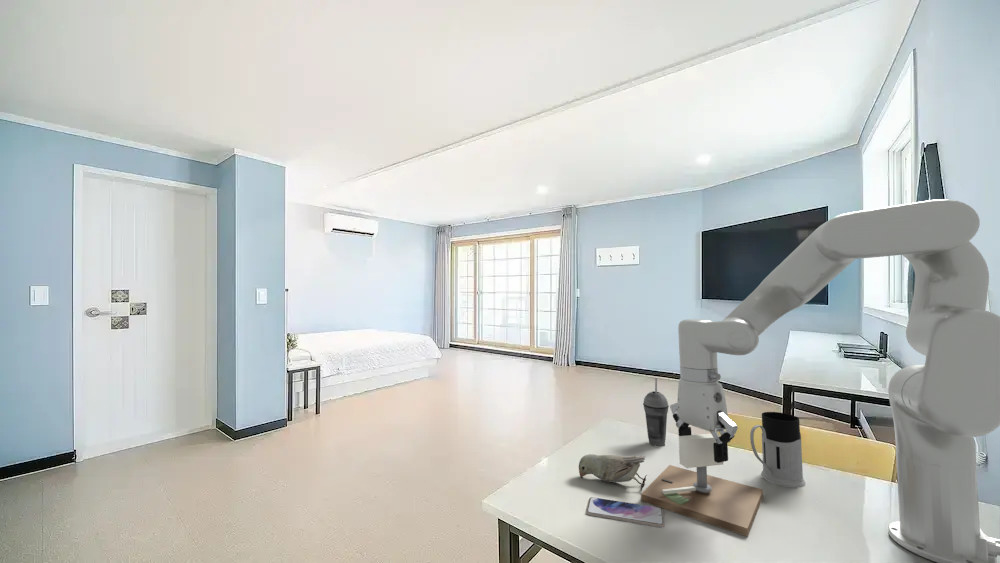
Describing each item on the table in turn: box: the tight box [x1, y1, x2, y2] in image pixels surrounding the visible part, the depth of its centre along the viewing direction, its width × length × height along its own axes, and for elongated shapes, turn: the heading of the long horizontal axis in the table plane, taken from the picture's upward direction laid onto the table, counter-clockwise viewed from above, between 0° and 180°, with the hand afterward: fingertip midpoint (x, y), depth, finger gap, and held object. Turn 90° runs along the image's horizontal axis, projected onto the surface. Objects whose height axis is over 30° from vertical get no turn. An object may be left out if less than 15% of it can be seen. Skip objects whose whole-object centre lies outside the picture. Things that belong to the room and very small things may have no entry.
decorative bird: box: [578, 453, 648, 492], centre depth 94 cm, size 5×16×8 cm, turn 65°
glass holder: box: [749, 411, 806, 489], centre depth 94 cm, size 9×14×15 cm, turn 109°
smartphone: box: [585, 496, 665, 528], centre depth 81 cm, size 7×1×15 cm
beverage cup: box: [642, 377, 670, 448], centre depth 119 cm, size 7×7×20 cm
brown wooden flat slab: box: [640, 464, 764, 537], centre depth 86 cm, size 20×19×2 cm
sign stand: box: [662, 433, 724, 494], centre depth 86 cm, size 14×4×12 cm, turn 100°
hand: (702, 452), depth 86 cm, fingers open, 9 cm apart
